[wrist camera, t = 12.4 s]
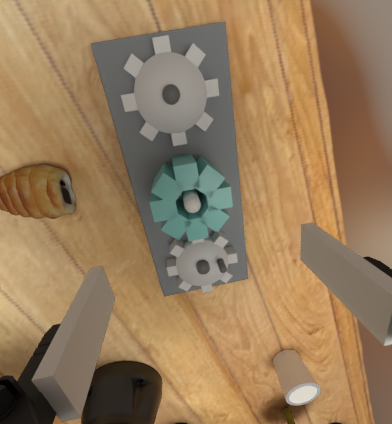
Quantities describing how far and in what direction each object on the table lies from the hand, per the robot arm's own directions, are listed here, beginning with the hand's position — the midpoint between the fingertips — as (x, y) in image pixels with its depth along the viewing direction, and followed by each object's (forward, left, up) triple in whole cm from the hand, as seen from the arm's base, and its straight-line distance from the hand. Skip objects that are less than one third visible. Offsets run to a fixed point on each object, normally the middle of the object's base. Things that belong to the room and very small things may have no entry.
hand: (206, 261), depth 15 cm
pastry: (-19, +3, -18) cm, 26 cm away
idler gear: (0, 0, -16) cm, 16 cm away
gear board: (0, 0, -18) cm, 18 cm away
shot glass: (+14, -42, -18) cm, 48 cm away
